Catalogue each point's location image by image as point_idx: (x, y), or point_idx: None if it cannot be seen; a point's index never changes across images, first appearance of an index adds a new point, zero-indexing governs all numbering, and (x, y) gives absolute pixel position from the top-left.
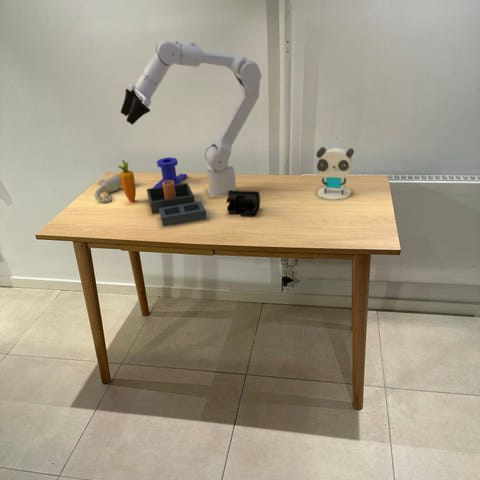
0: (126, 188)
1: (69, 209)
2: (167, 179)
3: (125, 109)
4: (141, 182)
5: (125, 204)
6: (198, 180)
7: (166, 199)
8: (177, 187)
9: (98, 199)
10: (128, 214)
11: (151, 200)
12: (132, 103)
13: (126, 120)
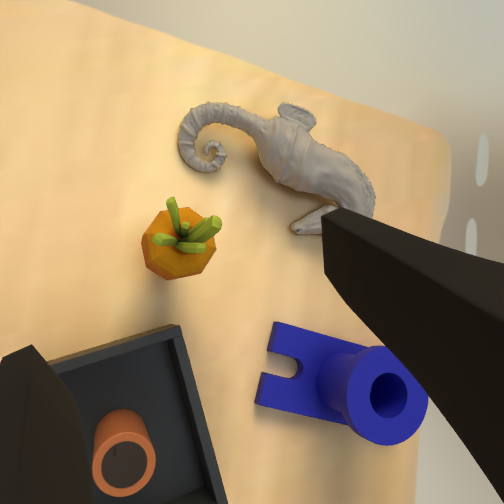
0: (141, 243)
1: (137, 24)
2: (323, 380)
3: (363, 273)
4: None
5: None
6: (358, 490)
7: None
8: (204, 461)
9: (182, 122)
10: (48, 261)
11: None
12: (451, 386)
13: (28, 346)
